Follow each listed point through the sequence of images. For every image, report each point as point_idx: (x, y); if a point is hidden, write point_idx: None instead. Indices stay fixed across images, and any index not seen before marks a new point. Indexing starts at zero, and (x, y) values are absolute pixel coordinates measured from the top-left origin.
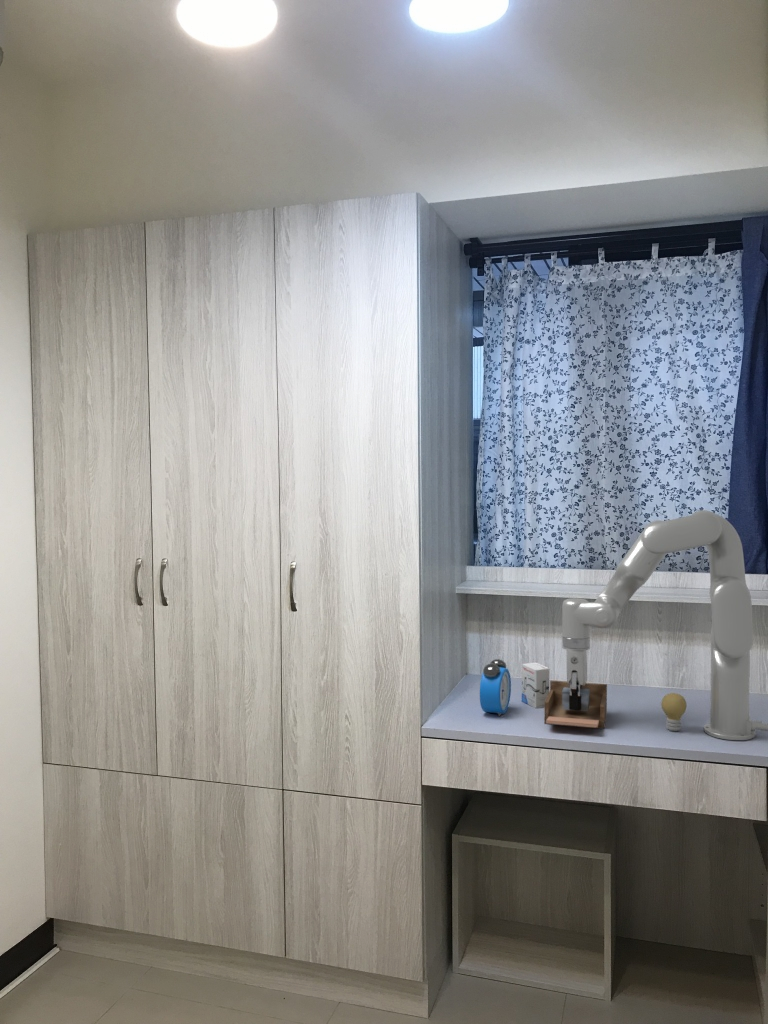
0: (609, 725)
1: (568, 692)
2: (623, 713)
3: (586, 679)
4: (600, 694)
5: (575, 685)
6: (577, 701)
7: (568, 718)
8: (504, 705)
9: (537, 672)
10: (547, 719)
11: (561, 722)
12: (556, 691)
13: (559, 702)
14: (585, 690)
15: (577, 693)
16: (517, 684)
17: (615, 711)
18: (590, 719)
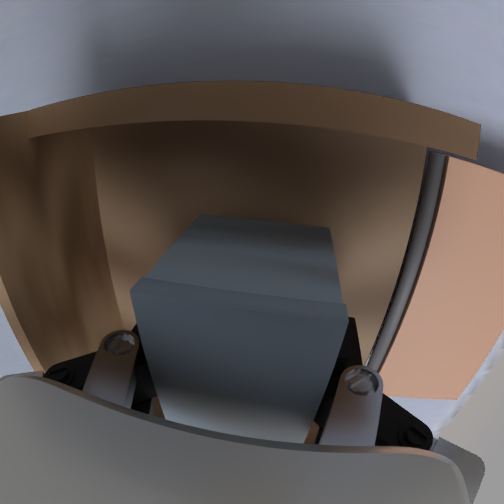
0: (337, 73)
1: (304, 438)
2: (87, 30)
3: (148, 450)
4: (36, 155)
5: (476, 488)
6: (359, 348)
7: (415, 327)
8: None
9: None
10: (442, 397)
11: (486, 351)
12: None
13: None
14: (208, 337)
15: (406, 411)
16: (11, 364)
17: (66, 72)
18: (397, 203)
